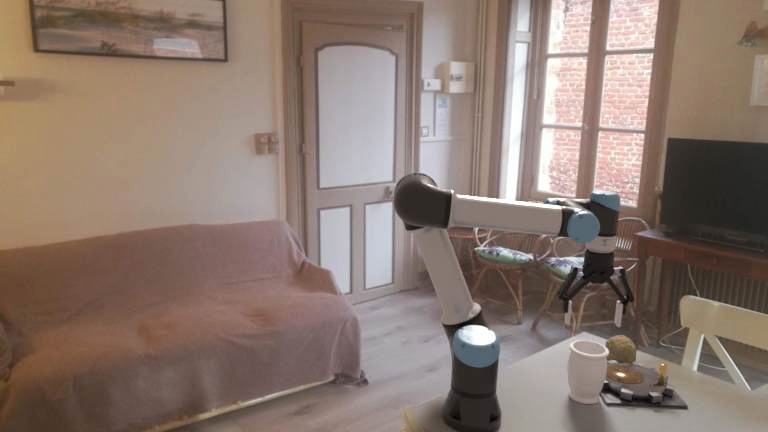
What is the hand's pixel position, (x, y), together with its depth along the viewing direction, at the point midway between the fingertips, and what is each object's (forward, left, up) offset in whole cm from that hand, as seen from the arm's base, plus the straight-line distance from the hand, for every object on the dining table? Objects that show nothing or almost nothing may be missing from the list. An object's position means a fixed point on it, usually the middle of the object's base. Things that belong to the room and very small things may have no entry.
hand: (592, 324), depth 162 cm
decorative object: (+19, +25, -22) cm, 38 cm away
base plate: (+16, +7, -22) cm, 28 cm away
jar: (0, 0, -22) cm, 22 cm away
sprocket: (+16, +7, -21) cm, 27 cm away
